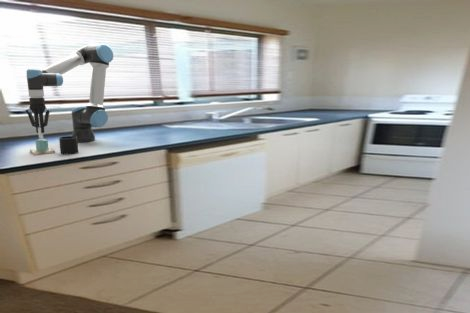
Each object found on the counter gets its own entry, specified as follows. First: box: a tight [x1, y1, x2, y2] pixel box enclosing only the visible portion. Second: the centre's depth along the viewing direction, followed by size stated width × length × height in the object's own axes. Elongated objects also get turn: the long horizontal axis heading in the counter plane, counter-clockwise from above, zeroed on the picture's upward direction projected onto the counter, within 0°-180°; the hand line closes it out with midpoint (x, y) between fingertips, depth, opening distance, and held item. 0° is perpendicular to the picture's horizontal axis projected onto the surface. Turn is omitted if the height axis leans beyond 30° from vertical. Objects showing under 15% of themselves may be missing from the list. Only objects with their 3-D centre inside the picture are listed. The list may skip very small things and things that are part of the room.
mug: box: [58, 135, 79, 155], centre depth 209 cm, size 9×12×9 cm
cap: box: [35, 138, 50, 151], centre depth 209 cm, size 6×6×6 cm
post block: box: [30, 147, 56, 156], centre depth 209 cm, size 11×11×5 cm
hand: (41, 138), depth 208 cm, fingers closed
